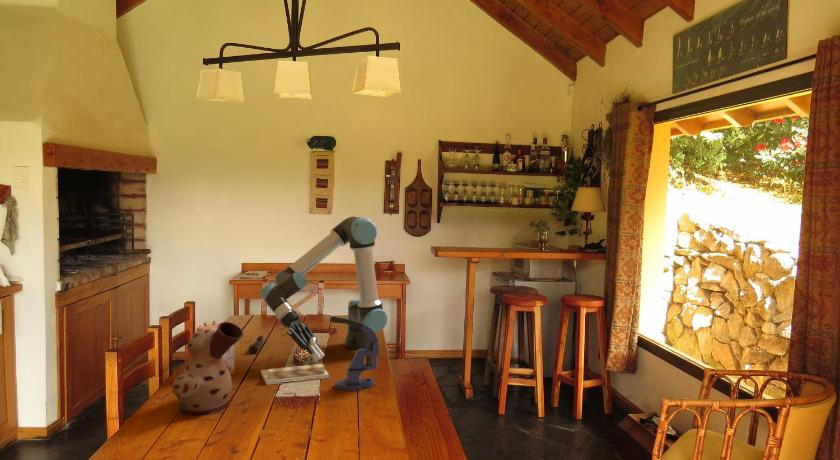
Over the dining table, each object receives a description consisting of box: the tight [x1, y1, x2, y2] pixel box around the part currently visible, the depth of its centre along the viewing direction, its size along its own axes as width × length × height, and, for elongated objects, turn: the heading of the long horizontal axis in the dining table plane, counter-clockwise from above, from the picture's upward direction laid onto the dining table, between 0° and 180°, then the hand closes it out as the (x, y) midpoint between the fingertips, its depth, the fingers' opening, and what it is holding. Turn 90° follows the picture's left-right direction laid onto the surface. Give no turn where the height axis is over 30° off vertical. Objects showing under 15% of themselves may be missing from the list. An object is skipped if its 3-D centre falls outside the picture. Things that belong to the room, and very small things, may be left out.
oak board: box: [267, 363, 326, 380], centre depth 231 cm, size 22×4×3 cm, turn 114°
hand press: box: [330, 315, 380, 391], centre depth 223 cm, size 19×9×28 cm, turn 103°
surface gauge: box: [303, 336, 321, 366], centre depth 239 cm, size 6×8×13 cm
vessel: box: [171, 321, 244, 416], centre depth 199 cm, size 29×22×30 cm
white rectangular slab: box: [260, 369, 330, 386], centre depth 234 cm, size 25×14×2 cm, turn 114°
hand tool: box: [248, 335, 264, 355], centre depth 273 cm, size 19×4×5 cm, turn 1°
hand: (320, 358), depth 239 cm, fingers closed on surface gauge, 2 cm apart
